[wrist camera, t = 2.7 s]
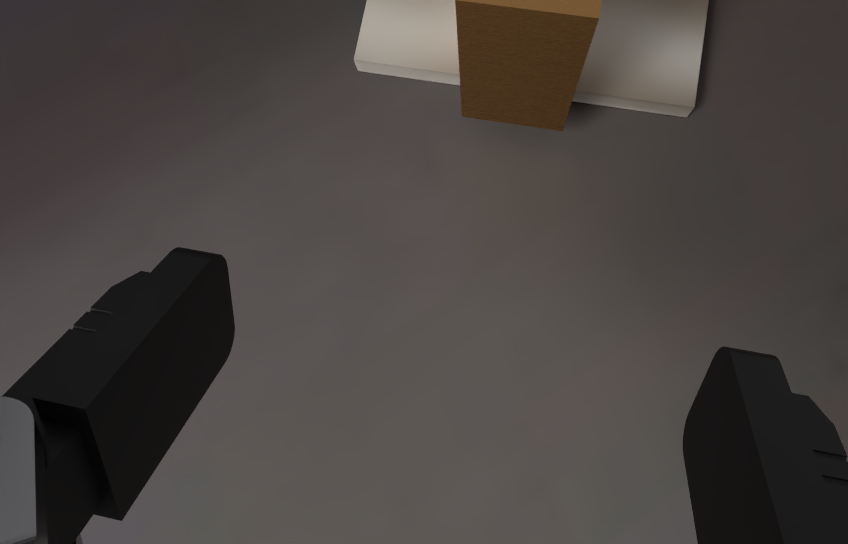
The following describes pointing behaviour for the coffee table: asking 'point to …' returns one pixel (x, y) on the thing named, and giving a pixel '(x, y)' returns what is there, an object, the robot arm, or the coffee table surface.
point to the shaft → (523, 58)
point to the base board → (604, 66)
